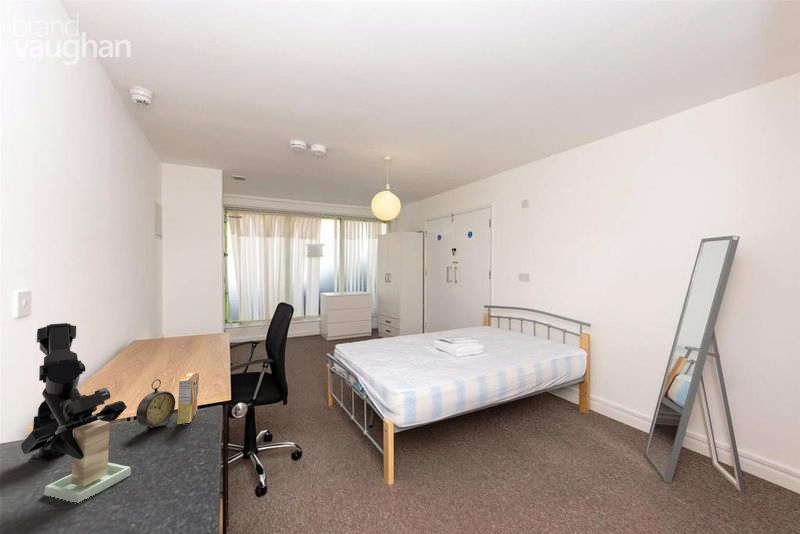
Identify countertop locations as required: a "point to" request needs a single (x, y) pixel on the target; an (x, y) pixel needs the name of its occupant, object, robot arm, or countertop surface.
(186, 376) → the candy box
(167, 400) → the alarm clock
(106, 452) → the beech block
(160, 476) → the countertop surface
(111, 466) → the green tray
